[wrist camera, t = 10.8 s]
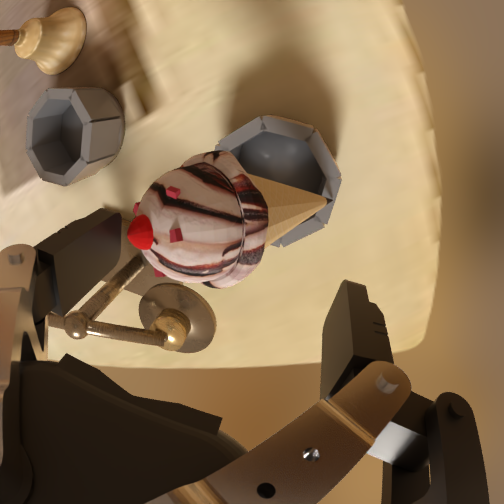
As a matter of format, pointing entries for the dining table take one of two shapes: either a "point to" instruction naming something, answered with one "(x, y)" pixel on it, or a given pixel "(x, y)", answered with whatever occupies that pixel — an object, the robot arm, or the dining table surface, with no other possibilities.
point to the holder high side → (74, 133)
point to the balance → (144, 307)
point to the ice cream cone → (215, 219)
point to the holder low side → (287, 163)
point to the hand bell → (49, 39)
